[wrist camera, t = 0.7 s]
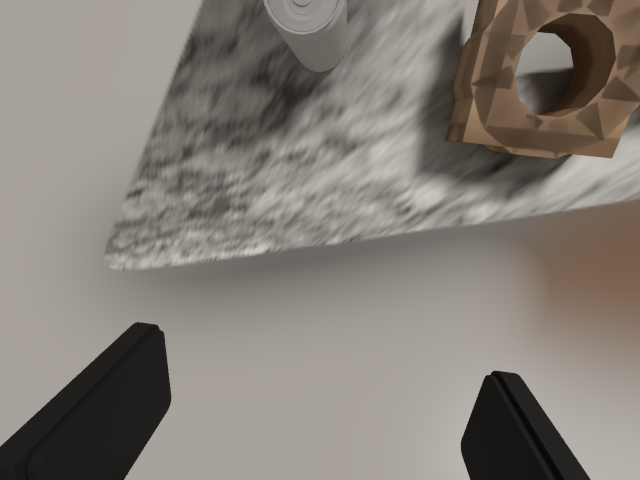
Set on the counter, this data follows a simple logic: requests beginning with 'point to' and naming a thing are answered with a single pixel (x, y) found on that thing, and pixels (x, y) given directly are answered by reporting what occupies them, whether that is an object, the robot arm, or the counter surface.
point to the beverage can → (312, 30)
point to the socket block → (583, 90)
